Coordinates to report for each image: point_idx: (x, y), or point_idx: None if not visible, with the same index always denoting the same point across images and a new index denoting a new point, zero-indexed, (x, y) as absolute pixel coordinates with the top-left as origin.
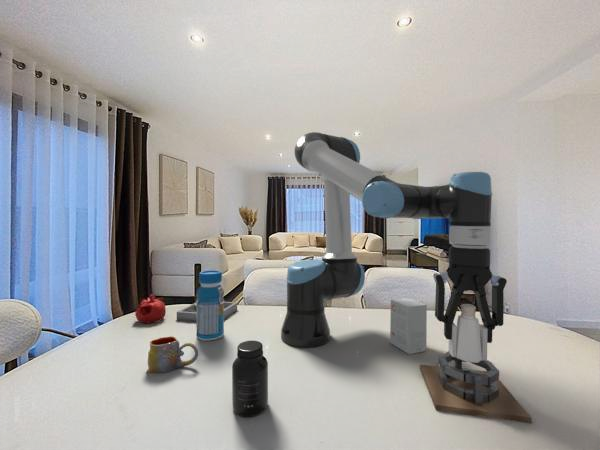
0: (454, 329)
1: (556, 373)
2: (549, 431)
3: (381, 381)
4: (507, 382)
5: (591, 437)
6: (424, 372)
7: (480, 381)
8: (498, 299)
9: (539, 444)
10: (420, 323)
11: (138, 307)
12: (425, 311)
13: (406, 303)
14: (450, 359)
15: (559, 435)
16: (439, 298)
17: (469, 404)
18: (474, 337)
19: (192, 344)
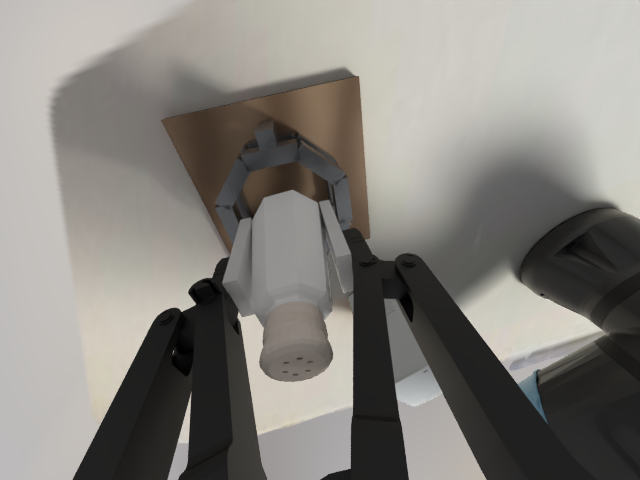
0: (341, 247)
1: (137, 317)
2: (131, 101)
3: (452, 148)
4: (213, 254)
5: (54, 117)
6: (364, 210)
7: (260, 130)
8: (110, 458)
9: (146, 28)
10: None
11: None
12: None
13: (428, 380)
14: None
15: (111, 93)
16: (481, 348)
17: (285, 115)
18: (271, 239)
19: None
